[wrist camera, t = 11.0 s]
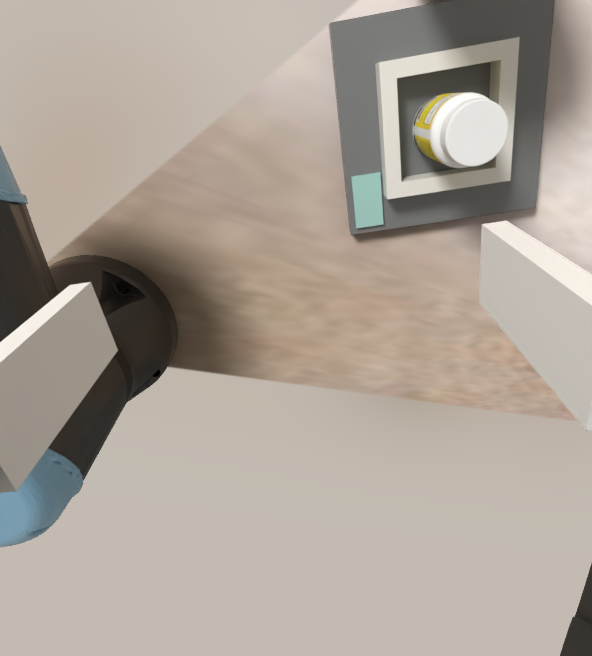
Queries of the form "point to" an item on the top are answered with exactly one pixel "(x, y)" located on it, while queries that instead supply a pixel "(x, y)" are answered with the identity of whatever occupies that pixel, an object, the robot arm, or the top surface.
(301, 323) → the top surface
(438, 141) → the supplement bottle
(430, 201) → the dock
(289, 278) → the top surface
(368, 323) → the top surface
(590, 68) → the top surface
